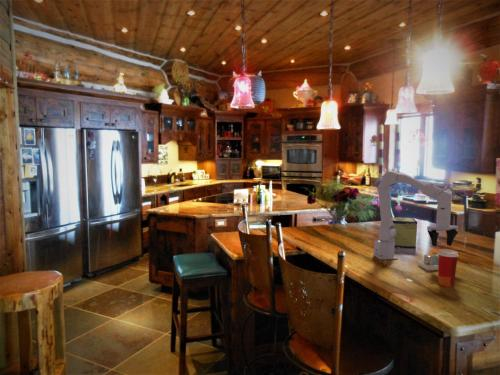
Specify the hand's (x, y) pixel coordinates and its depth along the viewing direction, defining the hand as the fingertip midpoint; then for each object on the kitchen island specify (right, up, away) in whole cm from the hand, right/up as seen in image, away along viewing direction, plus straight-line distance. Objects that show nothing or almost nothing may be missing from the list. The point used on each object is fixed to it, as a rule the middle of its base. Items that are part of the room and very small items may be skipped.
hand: (441, 245), depth 179 cm
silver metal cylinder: (-6, -10, 0) cm, 11 cm away
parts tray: (-3, -10, +1) cm, 11 cm away
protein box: (-4, -6, +39) cm, 40 cm away
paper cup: (-9, -13, -21) cm, 26 cm away
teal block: (0, -10, +1) cm, 10 cm away
